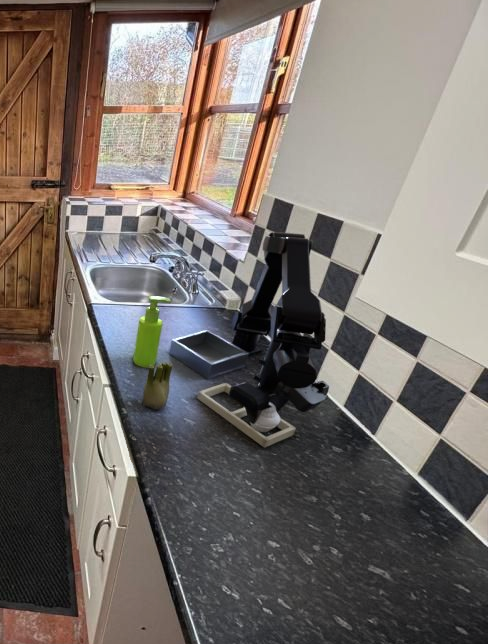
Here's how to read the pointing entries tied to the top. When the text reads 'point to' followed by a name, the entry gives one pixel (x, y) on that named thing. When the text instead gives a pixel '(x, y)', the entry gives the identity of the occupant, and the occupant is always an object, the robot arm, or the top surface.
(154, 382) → the fennel bulb
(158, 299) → the soap dispenser
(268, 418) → the white spiral shell
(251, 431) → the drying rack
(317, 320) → the robot arm
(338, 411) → the top surface
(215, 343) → the blue-grey square tray
